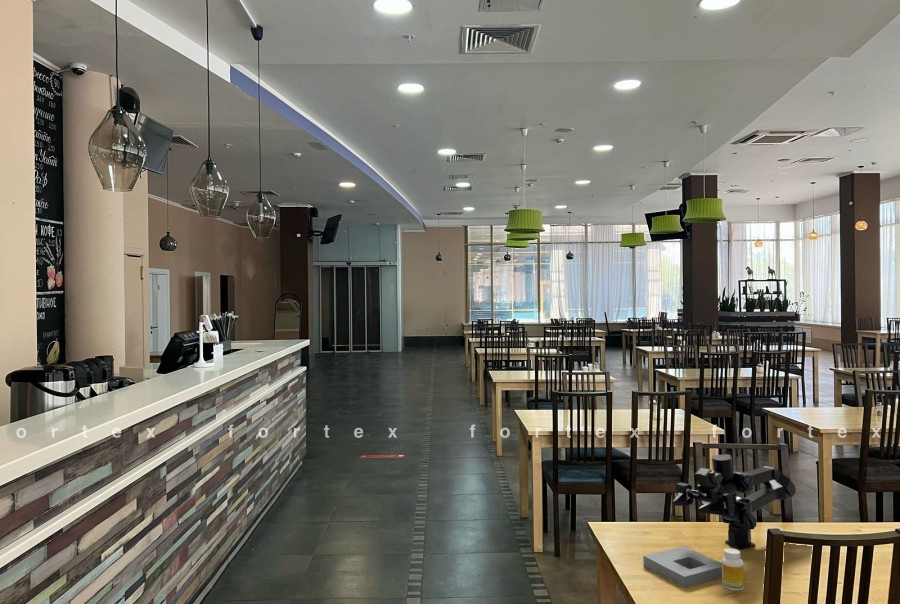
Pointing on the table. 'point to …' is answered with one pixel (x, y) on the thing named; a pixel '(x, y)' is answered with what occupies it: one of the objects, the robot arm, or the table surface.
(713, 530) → the table surface
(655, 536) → the table surface
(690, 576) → the holder
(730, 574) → the supplement bottle
